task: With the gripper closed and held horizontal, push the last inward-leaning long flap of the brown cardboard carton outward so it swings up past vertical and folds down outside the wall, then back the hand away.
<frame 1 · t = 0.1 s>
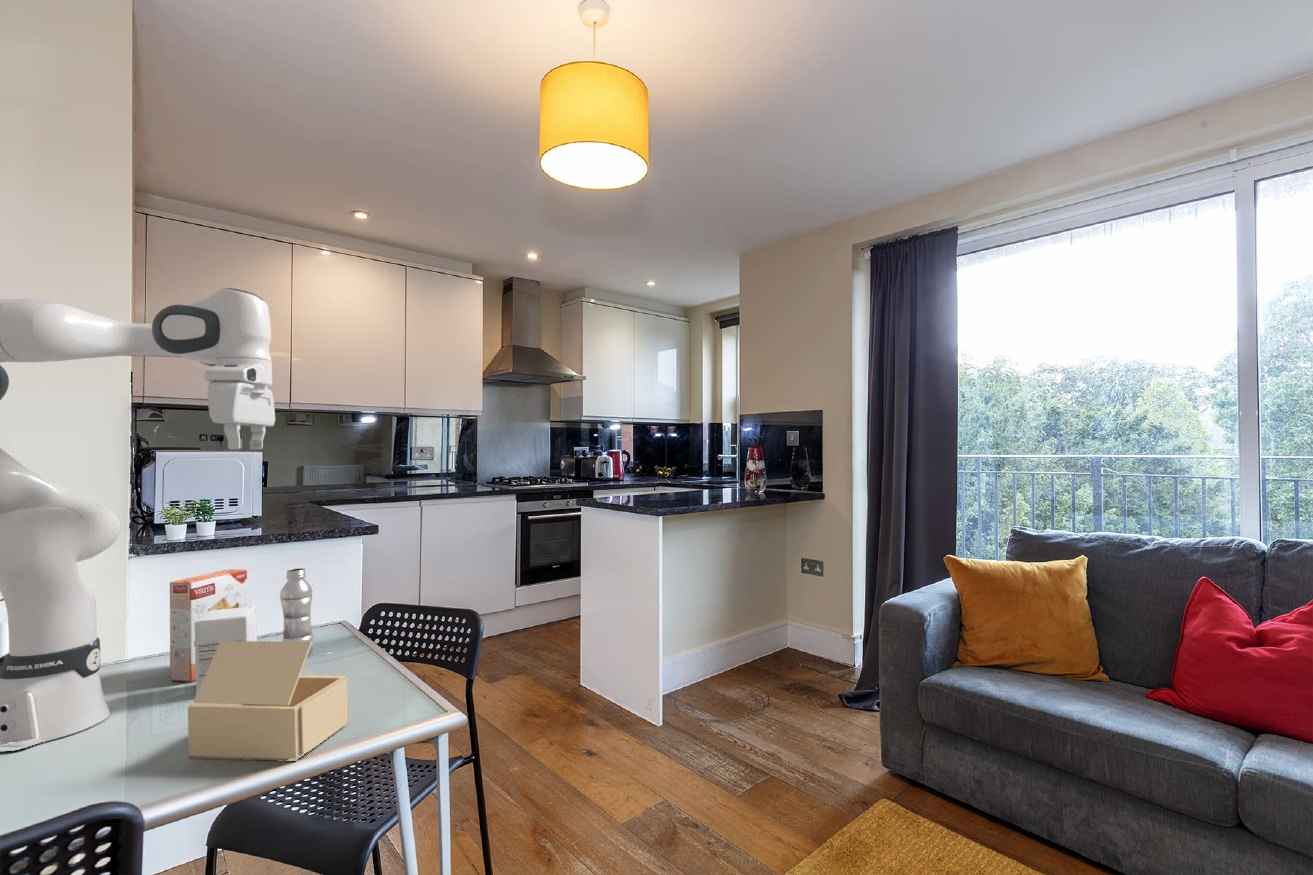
hand: (246, 449, 116), 48 cm above the table, tool pointing down, fingers open, 8 cm apart
carton: (272, 739, 101), on the table
supplement box: (228, 687, 125), on the table
flap: (253, 671, 97), point 12 cm above the table, hinge at -35.0°
cracker box: (211, 671, 135), on the table
plastic bottle: (298, 656, 142), on the table
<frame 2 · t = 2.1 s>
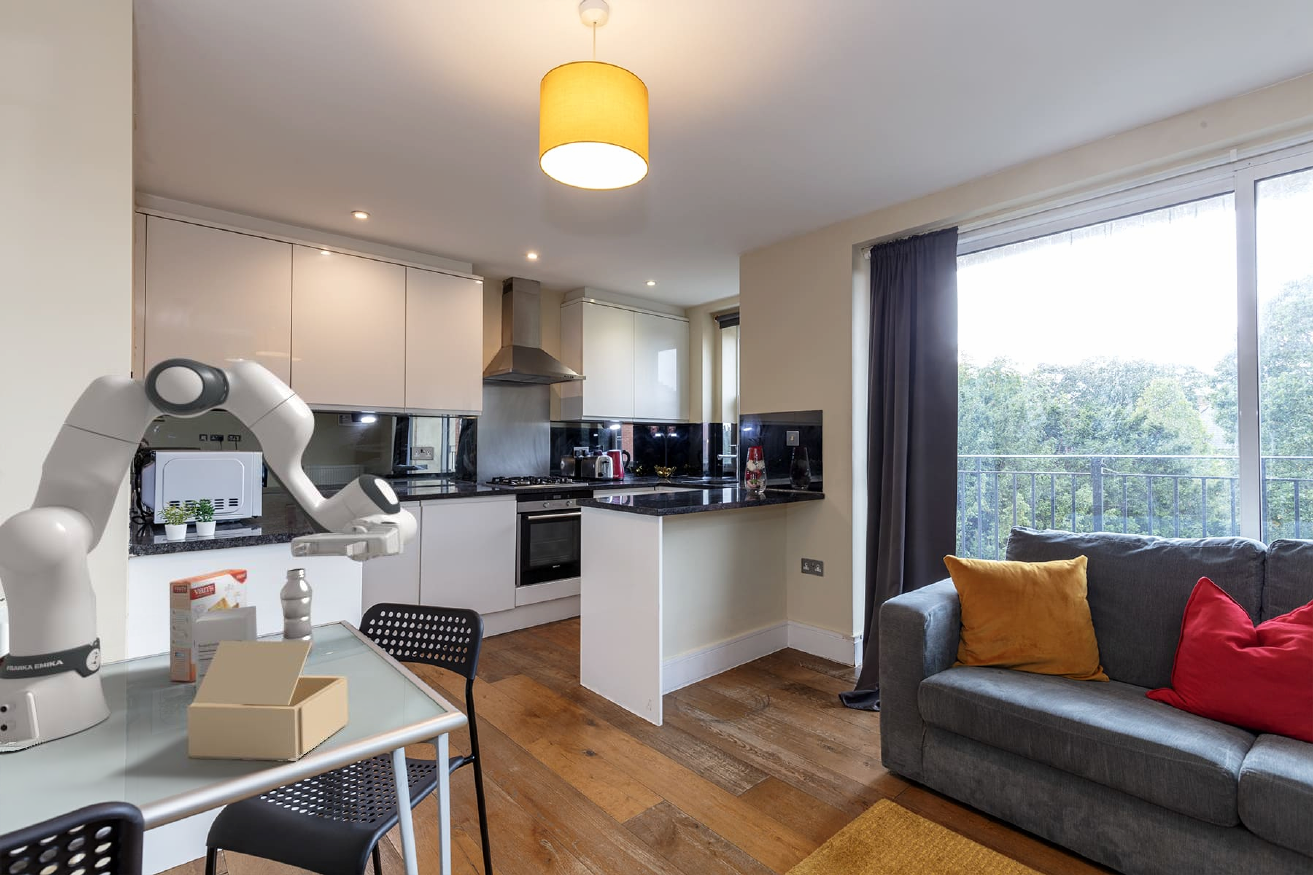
hand: (319, 551, 114), 29 cm above the table, tool horizontal, fingers open, 8 cm apart
nothing on the table moved.
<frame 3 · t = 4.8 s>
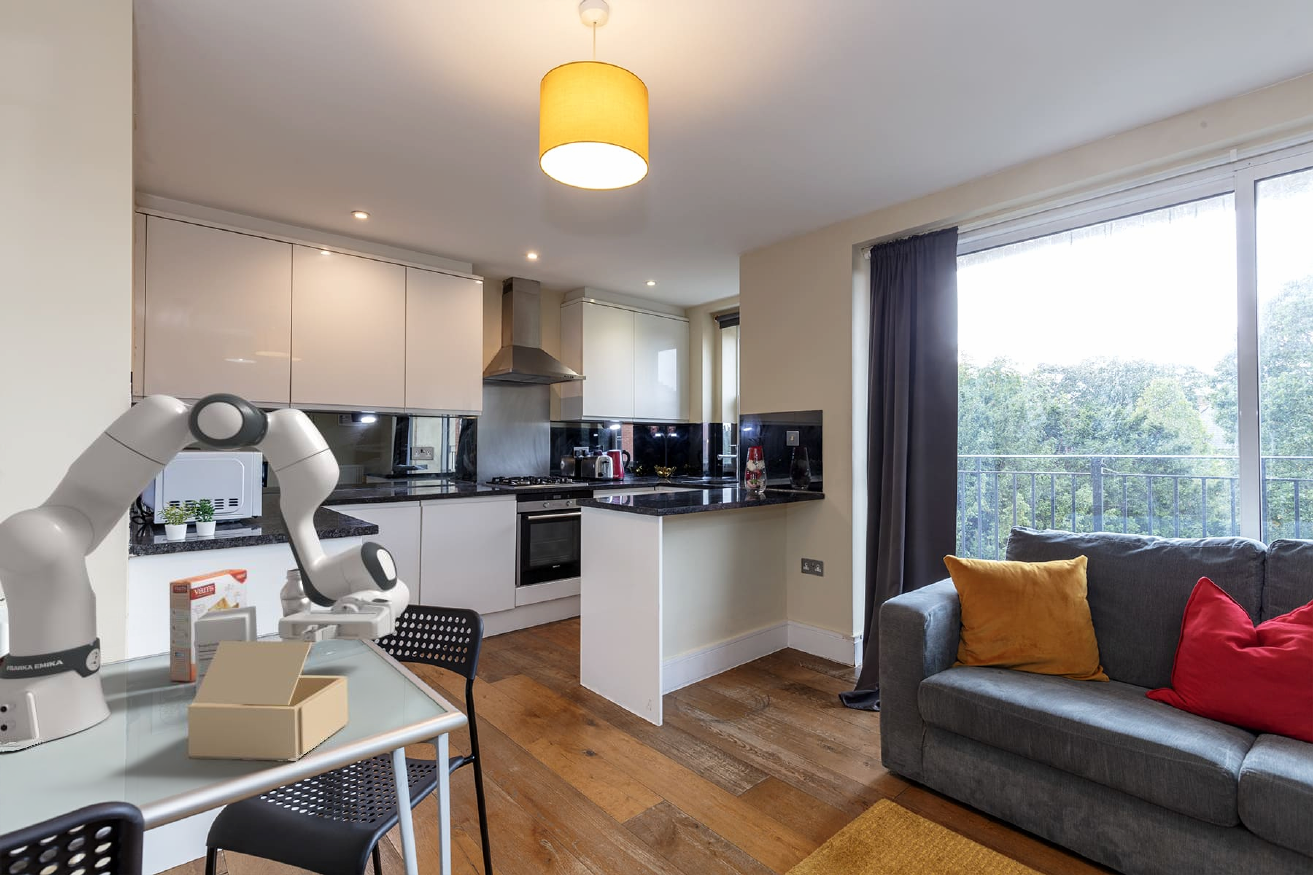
hand: (308, 637, 110), 14 cm above the table, tool horizontal, fingers closed
nothing on the table moved.
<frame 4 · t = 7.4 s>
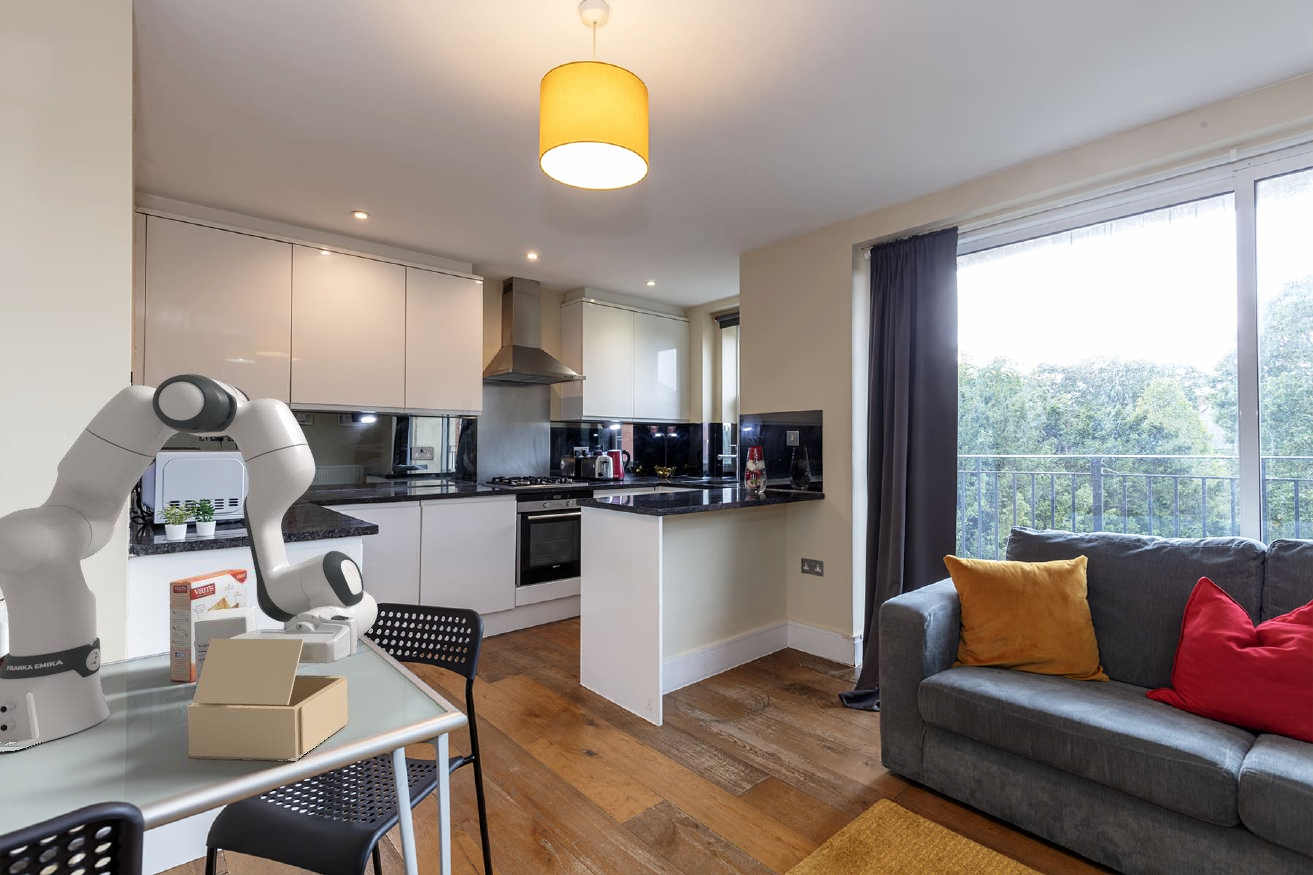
hand: (253, 662, 97), 14 cm above the table, tool horizontal, fingers closed
flap: (248, 670, 96), point 13 cm above the table, hinge at -22.7°, touching gripper
everything else where it was.
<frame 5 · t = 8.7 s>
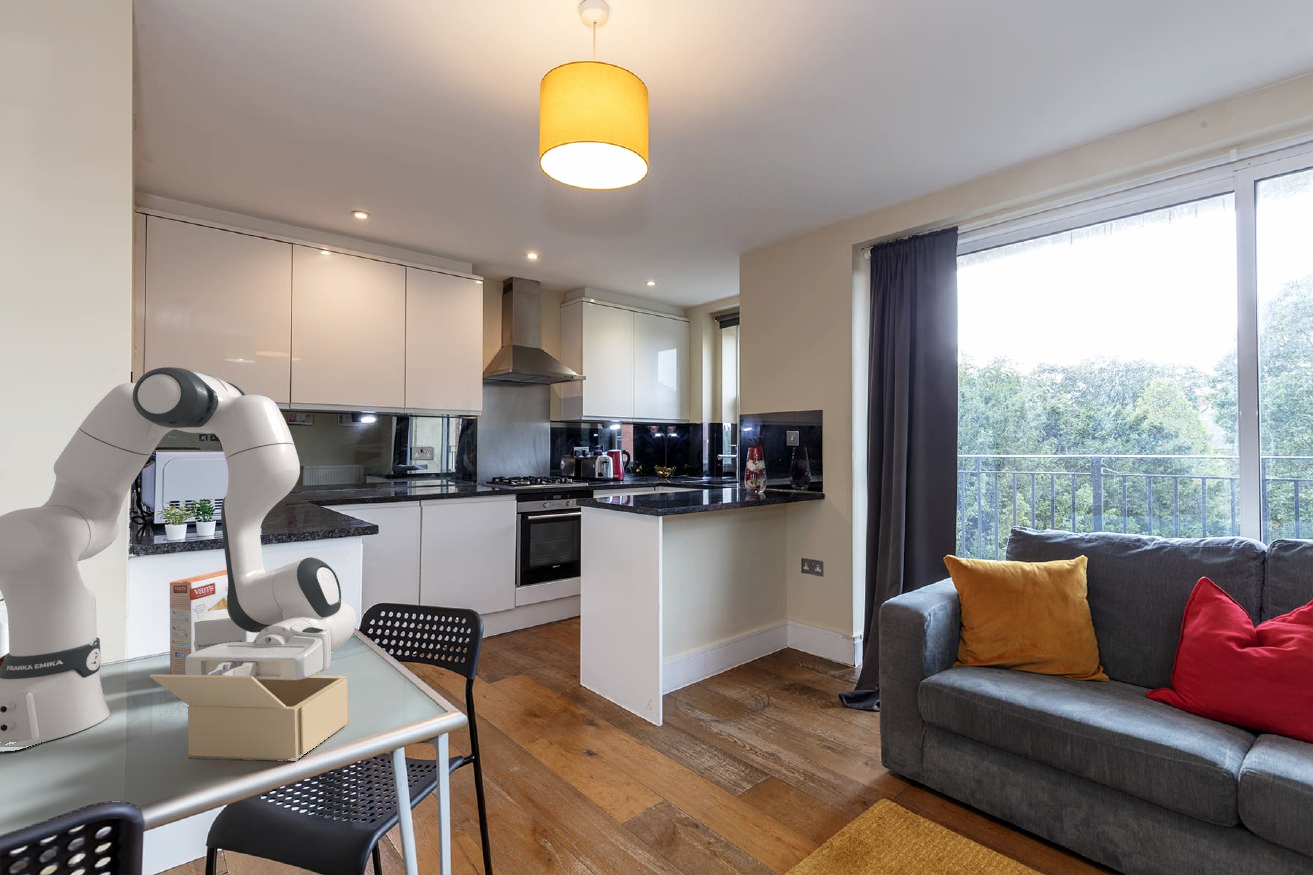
hand: (215, 680, 90), 14 cm above the table, tool horizontal, fingers closed, pressing on flap
flap: (219, 691, 91), point 12 cm above the table, hinge at 42.9°, touching gripper
everything else where it was.
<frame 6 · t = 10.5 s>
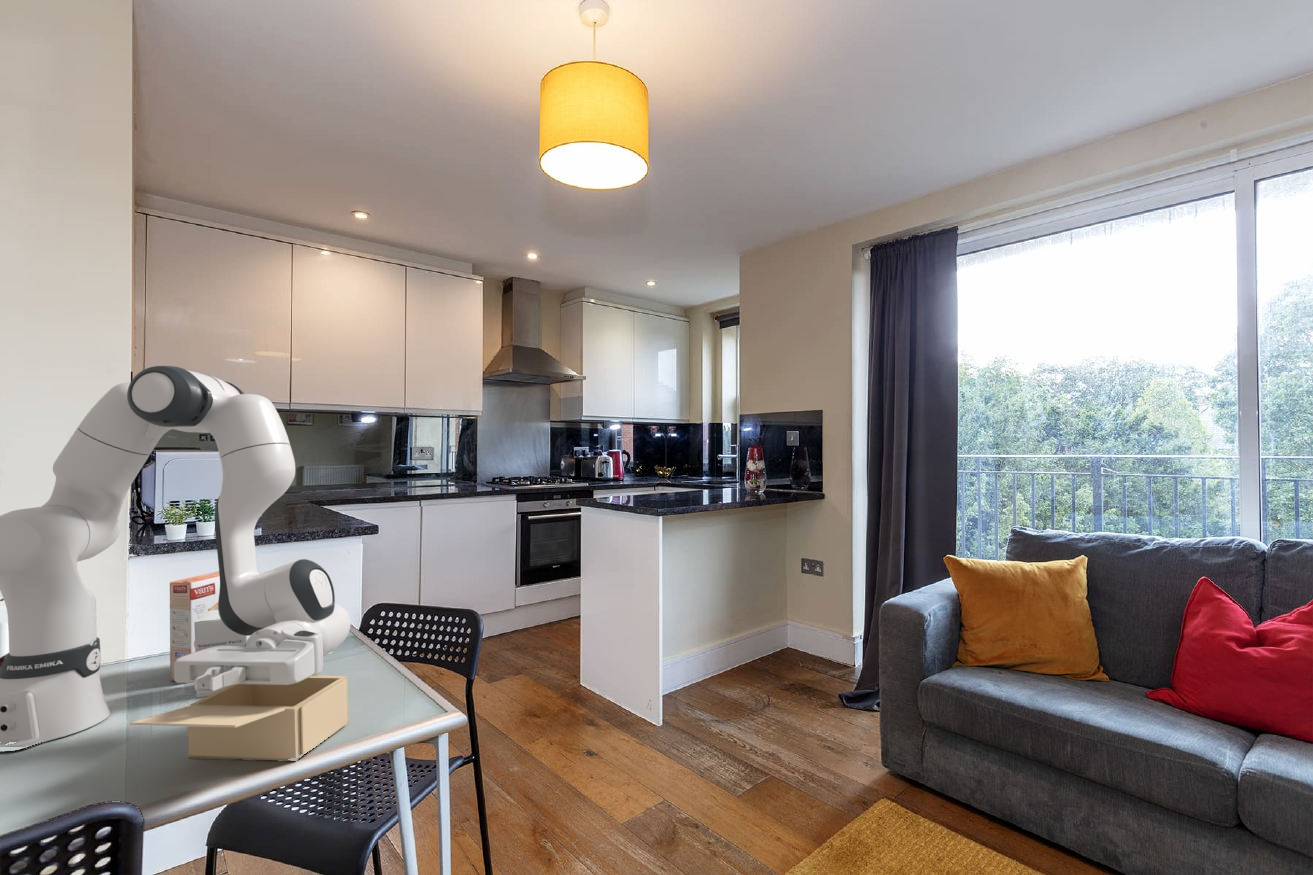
hand: (203, 685, 88), 14 cm above the table, tool horizontal, fingers closed
flap: (210, 715, 89), point 9 cm above the table, hinge at 79.8°
everything else where it was.
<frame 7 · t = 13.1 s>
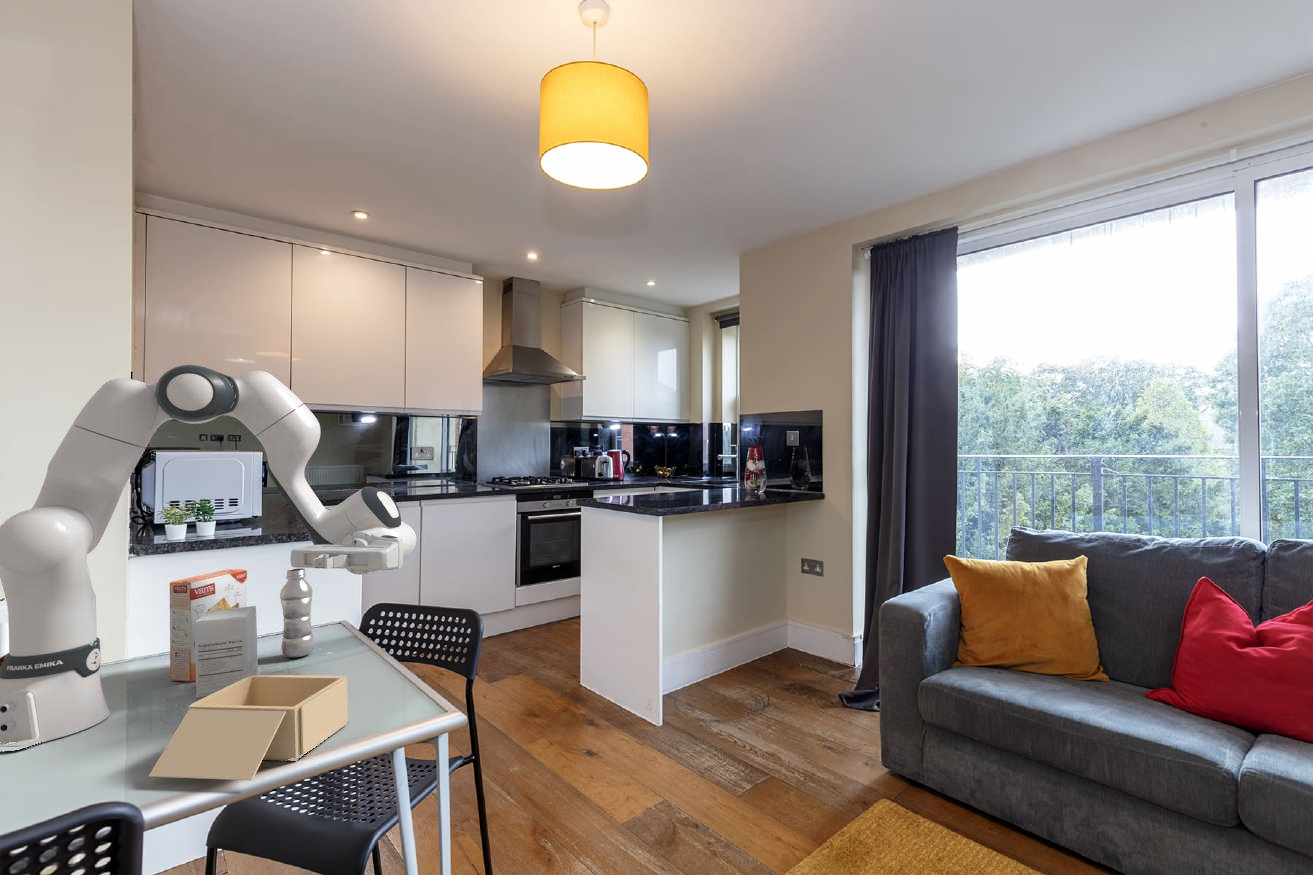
hand: (319, 563, 114), 26 cm above the table, tool horizontal, fingers closed
flap: (219, 742, 90), point 5 cm above the table, hinge at 133.8°
everything else where it was.
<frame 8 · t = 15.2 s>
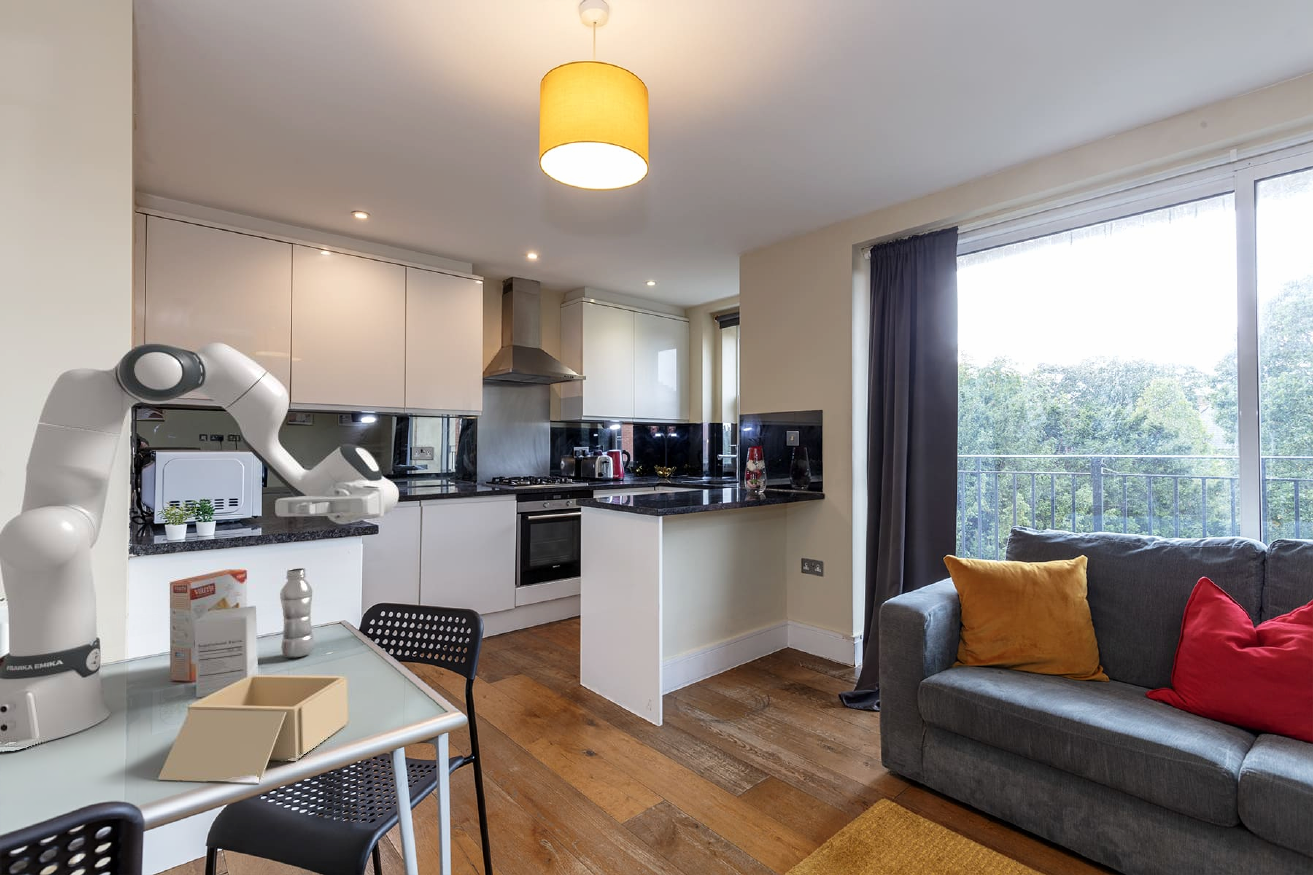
hand: (302, 509, 119), 36 cm above the table, tool horizontal, fingers closed
flap: (223, 744, 91), point 4 cm above the table, hinge at 144.3°
everything else where it was.
at the end: flap at +144° (first picture: -35°) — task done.
